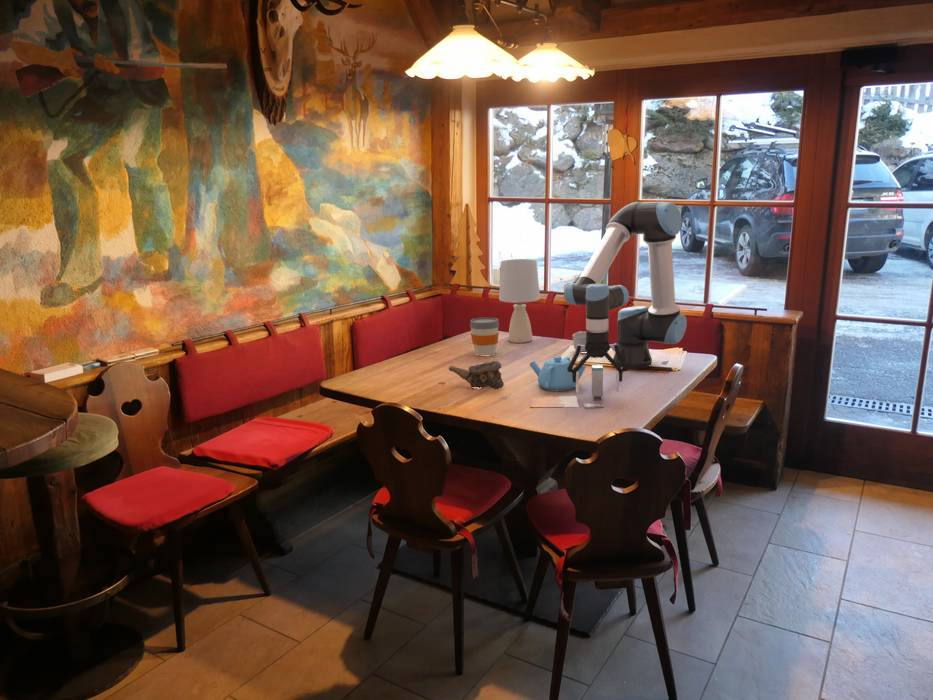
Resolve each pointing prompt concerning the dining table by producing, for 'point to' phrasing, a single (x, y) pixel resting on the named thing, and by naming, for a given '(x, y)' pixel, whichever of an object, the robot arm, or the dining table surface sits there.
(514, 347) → the dining table surface
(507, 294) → the lamp
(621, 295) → the robot arm
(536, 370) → the teapot
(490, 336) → the reusable coffee cup
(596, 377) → the grey rectangular block
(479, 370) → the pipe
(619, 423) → the dining table surface
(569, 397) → the paper
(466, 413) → the dining table surface
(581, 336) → the teacup
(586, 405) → the word card
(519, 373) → the dining table surface
